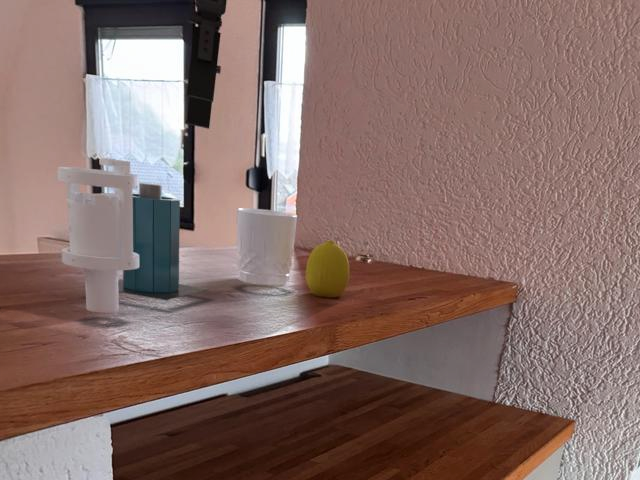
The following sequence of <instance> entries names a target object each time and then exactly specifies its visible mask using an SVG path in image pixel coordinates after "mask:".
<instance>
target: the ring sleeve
mask: <svg viewBox="0 0 640 480" xmlns="http://www.w3.org/2000/svg"><path fill="white" fill-rule="evenodd" d="M132 199H133V252H135V253H137V254H139V268H137V269H133V270H121V274H122V275H121V277H122V279H121V280H122V281H123V287H124V288H127V289H131V290H134V291H142V292H151V293H153V292H154V293H169V292H174V291H178V290H179V284H180V232H181V231H180V230H181V229H180V228H181V227H180V225H181V224H180V223H181V222H180V220H181V216H180V215H181V200H180V199H179V198H177V197H171V196H164V195H162V199H152V198H144V197H139V193H134V192H132Z"/></svg>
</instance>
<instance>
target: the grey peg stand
mask: <svg viewBox="0 0 640 480" xmlns="http://www.w3.org/2000/svg"><path fill="white" fill-rule="evenodd" d="M162 187H163V185H161V184H156V183H150V182H149V183H148V182H139V188H138V194H139V197H144V198H152V199H162V196H163V192H162V191H163V189H162ZM118 291H119V292H118V293H122V294H128V295H135V296H139V297H146V298H151V299H157V300H163V301H170V300H174V299H177V298H181V297H186V296H189V295H192V294H193V295H194V294H196V293H201V292H205V291H209V288H206V287H200V286H193V285H189V284H188V285H187V284H181V283H179V290H178V291H174V292H169V293H154V292H153V293H151V292H142V291H134V290H131V289H127V288H124V287H123V281H122V279H118Z"/></svg>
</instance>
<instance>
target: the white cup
mask: <svg viewBox="0 0 640 480" xmlns="http://www.w3.org/2000/svg"><path fill="white" fill-rule="evenodd" d="M297 221H298V215H297V214H295V213H291V212H286V211H279V210H273V209H263V208H249V207H239V208H237V209H236V265H237V268H238V269H237V279H238V280H239V281H241V282H244V283H247V284H253V285H259V286H273V287H274V286H275V287H277V286H278V287H279V286H280V287H281V286H287V285H289V283H290V273H291V270H292V266H293V265H292V263H293V256H294V249H295V240H296V231H297Z"/></svg>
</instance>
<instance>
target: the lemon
mask: <svg viewBox="0 0 640 480" xmlns="http://www.w3.org/2000/svg"><path fill="white" fill-rule="evenodd" d="M305 280H306V285H307V287H308V288H309V291H310V292H311V293H312V294H313V295H314V296H316V297H320V298H330V299H331V298H333V299H334V298H338V297H340V296H341V295H342V294H343V293H344V292H345V290H346V288H347V286H348V283H349V280H350V262H349V258H348V255H347V253H346V251H345V250H344V248H343V247H341V246H340V245H338V244H337V243H336V242H335V241H334V240H333V239H328V240H326V242H322V243H320V244H319V245H317V246H315V248H314V249H313V250H311V253H310V254H309V257H308V260H307V263H306V268H305Z"/></svg>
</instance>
